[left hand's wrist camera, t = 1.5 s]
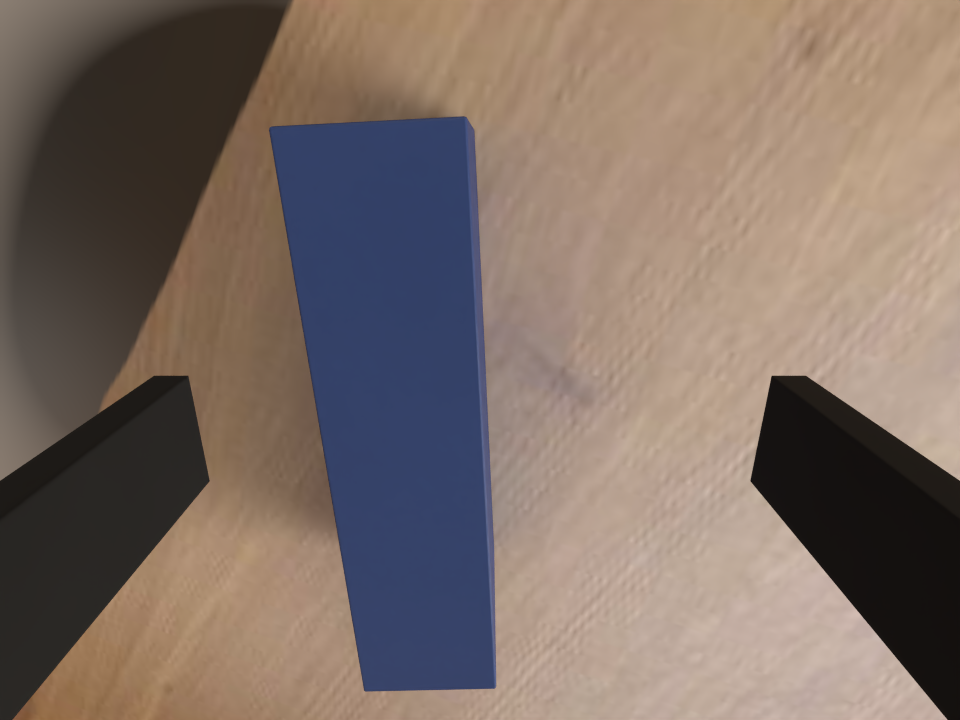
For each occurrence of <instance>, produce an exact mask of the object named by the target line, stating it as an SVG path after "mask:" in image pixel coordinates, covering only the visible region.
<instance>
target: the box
mask: <svg viewBox="0 0 960 720" xmlns="http://www.w3.org/2000/svg"><path fill="white" fill-rule="evenodd" d="M269 132H270V138H271V143H272V149H273V155H274V161H275V167H276V173H277V179H278V185H279V191H280V197H281V202H282V208H283V214H284V220H285V226H286V232H287V238H288V244H289V250H290V256H291V261H292V267H293V273H294V279H295V285H296V291H297V297H298V303H299V309H300V315H301V320H302V326H303V332H304V338H305V344H306V350H307V356H308V362H309V368H310V374H311V379H312V385H313V391H314V397H315V403H316V409H317V415H318V421H319V427H320V433H321V438H322V444H323V450H324V456H325V462H326V468H327V474H328V480H329V486H330V492H331V497H332V503H333V509H334V515H335V521H336V527H337V533H338V539H339V545H340V551H341V556H342V562H343V568H344V574H345V580H346V586H347V592H348V598H349V604H350V610H351V615H352V621H353V627H354V633H355V639H356V645H357V651H358V657H359V663H360V669H361V674H362V680H363V686H364V691H406V690H451V689H494V688H496V644H495V580H494V539H493V518H492V497H491V475H490V454H489V433H488V412H487V390H486V369H485V348H484V327H483V305H482V284H481V263H480V242H479V221H478V199H477V178H476V157H475V136H474V129H473V127H472V126H471V124H470V123H469V121H468V119H467V118H466V117H464V116H463V117H444V118H425V119H406V120H387V121H368V122H349V123H330V124H311V125H292V126H273V127H270V128H269Z"/></svg>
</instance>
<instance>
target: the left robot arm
mask: <svg viewBox="0 0 960 720" xmlns="http://www.w3.org/2000/svg"><path fill="white" fill-rule="evenodd" d="M208 482H209V476H208V471H207V466H206V461H205V456H204V451H203V446H202V441H201V436H200V431H199V426H198V422H197V417H196V412H195V407H194V402H193V397H192V392H191V387H190V382H189V377H188V376H153V377H152V378H150V379H149V380H147V381H146V382H144V383H143V384H141V385H140V386H139V387H137V388H136V389H134V390H133V391H131V392H130V393H128V394H127V395H125V396H124V397H122V398H121V399H119V400H118V401H117V402H115V403H114V404H112V405H111V406H109V407H108V408H106V409H105V410H103V411H102V412H100V413H99V414H98V415H96V416H95V417H93V418H92V419H90V420H89V421H87V422H86V423H84V424H83V425H81V426H80V427H78V428H77V429H76V430H74V431H73V432H71V433H70V434H68V435H67V436H65V437H64V438H62V439H61V440H59V441H58V442H56V443H55V444H54V445H52V446H51V447H49V448H48V449H46V450H45V451H43V452H42V453H40V454H39V455H37V456H36V457H34V458H33V459H32V460H30V461H29V462H27V463H26V464H24V465H23V466H21V467H20V468H18V469H17V470H15V471H14V472H13V473H11V474H10V475H8V476H7V477H5V478H4V479H2V480H1V481H0V720H13V718H14V717H15V716H16V715H17V714H18V712H19V711H20V710H21V709H22V707H23V706H24V705H25V704H26V703H27V701H28V700H29V699H30V698H31V697H32V695H33V694H34V693H35V692H36V691H37V689H38V688H39V687H40V686H41V684H42V683H43V682H44V681H45V680H46V678H47V677H48V676H49V675H50V674H51V672H52V671H53V670H54V669H55V668H56V666H57V665H58V664H59V663H60V661H61V660H62V659H63V658H64V657H65V655H66V654H67V653H68V652H69V651H70V649H71V648H72V647H73V646H74V645H75V643H76V642H77V641H78V640H79V638H80V637H81V636H82V635H83V634H84V632H85V631H86V630H87V629H88V628H89V626H90V625H91V624H92V623H93V622H94V620H95V619H96V618H97V617H98V615H99V614H100V613H101V612H102V611H103V609H104V608H105V607H106V606H107V605H108V603H109V602H110V601H111V600H112V599H113V597H114V596H115V595H116V594H117V592H118V591H119V590H120V589H121V588H122V586H123V585H124V584H125V583H126V582H127V580H128V579H129V578H130V577H131V576H132V574H133V573H134V572H135V571H136V569H137V568H138V567H139V566H140V565H141V563H142V562H143V561H144V560H145V559H146V557H147V556H148V555H149V554H150V553H151V551H152V550H153V549H154V548H155V546H156V545H157V544H158V543H159V542H160V540H161V539H162V538H163V537H164V536H165V534H166V533H167V532H168V531H169V530H170V528H171V527H172V526H173V525H174V523H175V522H176V521H177V520H178V519H179V517H180V516H181V515H182V514H183V513H184V511H185V510H186V509H187V508H188V507H189V505H190V504H191V503H192V502H193V500H194V499H195V498H196V497H197V496H198V494H199V493H200V492H201V491H202V490H203V488H204V487H205V486H206V485H207V484H208ZM751 482H752V484H753V485H754V486H755V487H756V488H757V490H758V491H759V492H760V493H761V494H762V496H763V497H764V498H765V499H766V500H767V502H768V503H769V504H770V505H771V507H772V508H773V509H774V510H775V511H776V513H777V514H778V515H779V516H780V517H781V519H782V520H783V521H784V522H785V523H786V525H787V526H788V527H789V528H790V530H791V531H792V532H793V533H794V534H795V536H796V537H797V538H798V539H799V540H800V542H801V543H802V544H803V545H804V546H805V548H806V549H807V550H808V551H809V553H810V554H811V555H812V556H813V557H814V559H815V560H816V561H817V562H818V563H819V565H820V566H821V567H822V568H823V569H824V571H825V572H826V573H827V574H828V576H829V577H830V578H831V579H832V580H833V582H834V583H835V584H836V585H837V586H838V588H839V589H840V590H841V591H842V592H843V594H844V595H845V596H846V597H847V599H848V600H849V601H850V602H851V603H852V605H853V606H854V607H855V608H856V609H857V611H858V612H859V613H860V614H861V615H862V617H863V618H864V619H865V620H866V622H867V623H868V624H869V625H870V626H871V628H872V629H873V630H874V631H875V632H876V634H877V635H878V636H879V637H880V638H881V640H882V641H883V642H884V643H885V645H886V646H887V647H888V648H889V649H890V651H891V652H892V653H893V654H894V655H895V657H896V658H897V659H898V660H899V661H900V663H901V664H902V665H903V666H904V668H905V669H906V670H907V671H908V672H909V674H910V675H911V676H912V677H913V678H914V680H915V681H916V682H917V683H918V684H919V686H920V687H921V688H922V689H923V691H924V692H925V693H926V694H927V695H928V697H929V698H930V699H931V700H932V701H933V703H934V704H935V705H936V706H937V707H938V709H939V710H940V711H941V712H942V714H943V715H944V716H945V717H946V718H947V720H960V481H959V480H958V479H956V478H955V477H953V476H952V475H950V474H949V473H948V472H946V471H945V470H943V469H942V468H940V467H939V466H937V465H936V464H934V463H933V462H931V461H930V460H928V459H927V458H926V457H924V456H923V455H921V454H920V453H918V452H917V451H915V450H914V449H912V448H911V447H909V446H908V445H906V444H905V443H904V442H902V441H901V440H899V439H898V438H896V437H895V436H893V435H892V434H890V433H889V432H887V431H886V430H884V429H883V428H882V427H880V426H879V425H877V424H876V423H874V422H873V421H871V420H870V419H868V418H867V417H865V416H864V415H862V414H861V413H860V412H858V411H857V410H855V409H854V408H852V407H851V406H849V405H848V404H846V403H845V402H843V401H842V400H840V399H839V398H838V397H836V396H835V395H833V394H832V393H830V392H829V391H827V390H826V389H824V388H823V387H821V386H820V385H819V384H817V383H816V382H814V381H813V380H811V379H810V378H808V377H807V376H772V377H771V382H770V387H769V392H768V397H767V402H766V407H765V412H764V417H763V422H762V426H761V431H760V436H759V441H758V446H757V451H756V456H755V461H754V466H753V471H752V476H751Z"/></svg>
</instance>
